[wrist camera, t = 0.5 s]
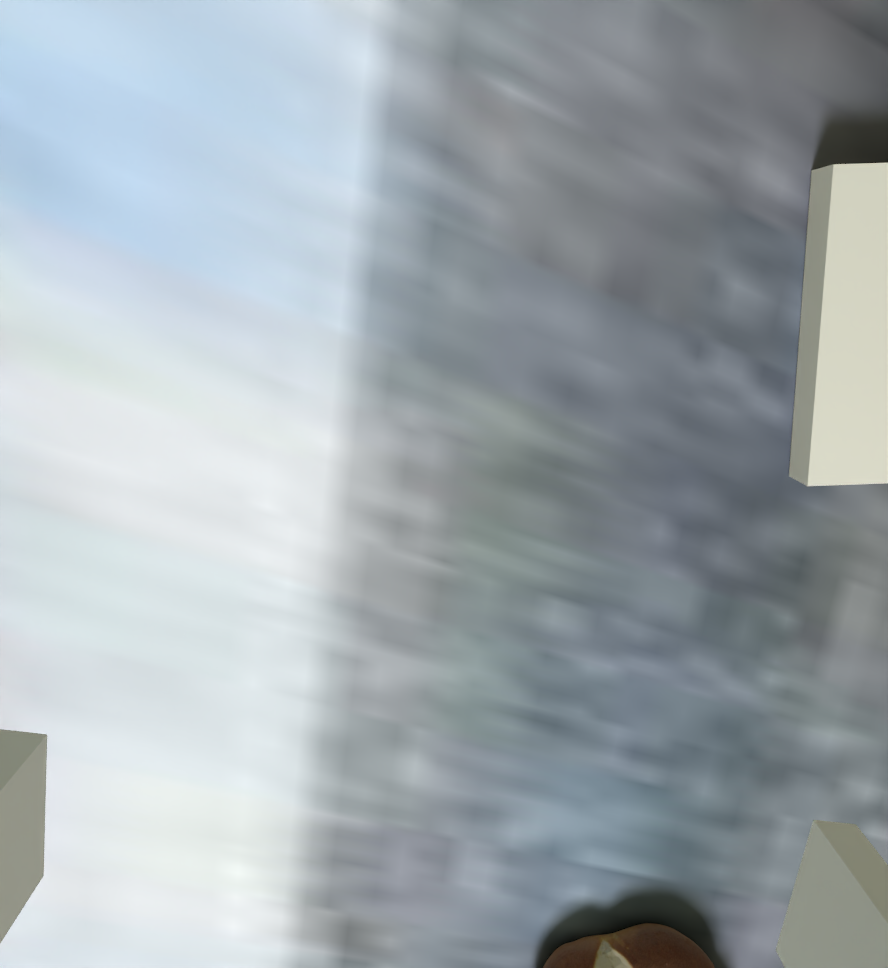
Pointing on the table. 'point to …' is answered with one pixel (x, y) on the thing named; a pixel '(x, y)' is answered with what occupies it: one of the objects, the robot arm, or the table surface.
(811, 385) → the fulcrum
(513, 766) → the table surface
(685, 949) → the bread
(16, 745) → the robot arm
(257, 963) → the table surface
